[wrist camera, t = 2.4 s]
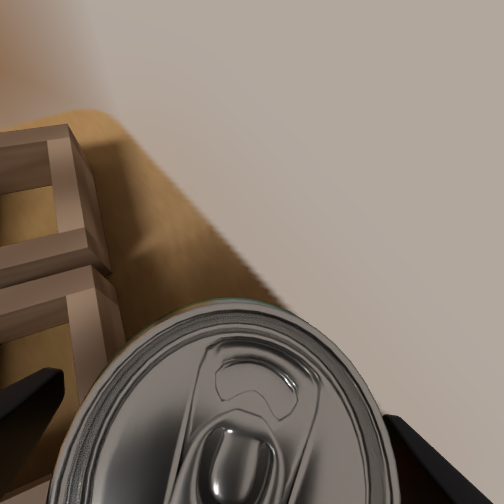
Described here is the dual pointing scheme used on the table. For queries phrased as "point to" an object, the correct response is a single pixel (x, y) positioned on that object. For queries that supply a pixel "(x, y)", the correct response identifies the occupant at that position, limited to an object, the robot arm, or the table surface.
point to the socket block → (58, 264)
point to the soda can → (227, 417)
